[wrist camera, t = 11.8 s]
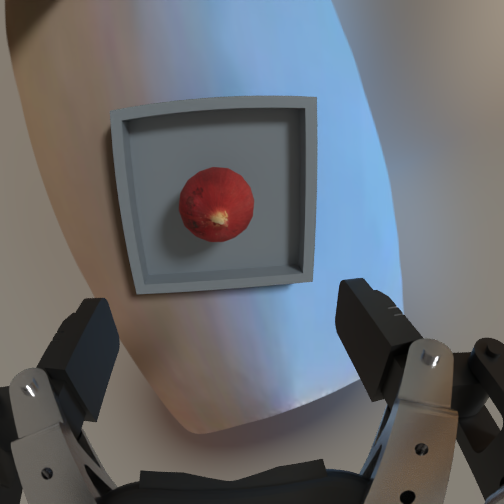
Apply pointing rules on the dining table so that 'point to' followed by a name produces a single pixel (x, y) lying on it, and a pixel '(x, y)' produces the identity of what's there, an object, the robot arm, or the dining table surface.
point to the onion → (216, 204)
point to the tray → (225, 156)
